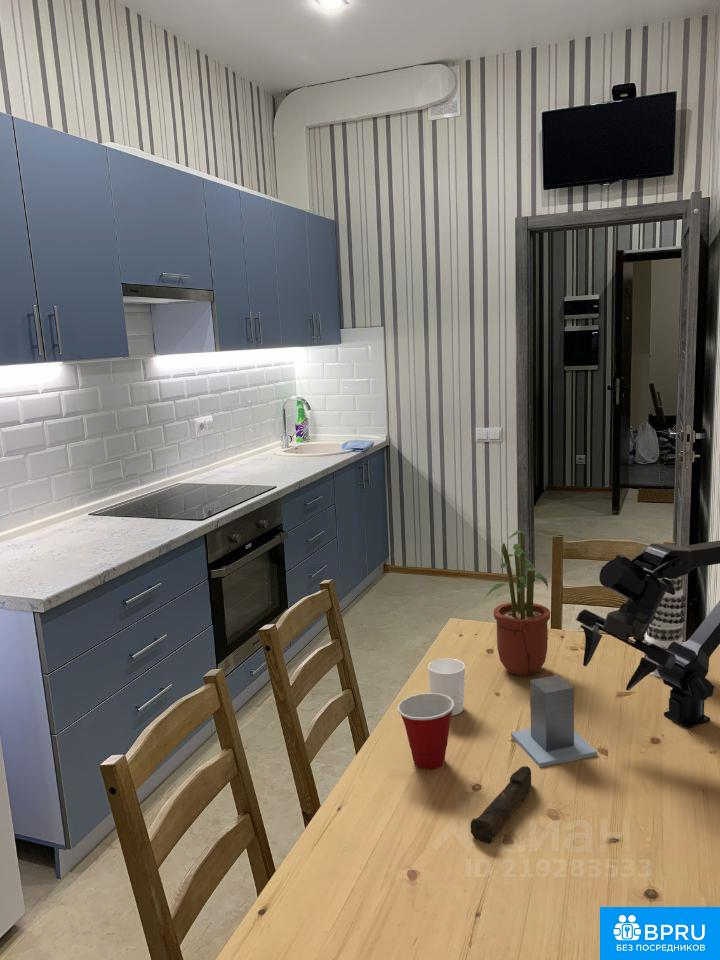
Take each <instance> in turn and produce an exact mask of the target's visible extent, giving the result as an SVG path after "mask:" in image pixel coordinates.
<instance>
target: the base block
mask: <svg viewBox="0 0 720 960" xmlns="http://www.w3.org/2000/svg"><path fill="white" fill-rule="evenodd" d="M510 737H511V738H512V739H513V740H514V741H515V743H517V744H518V745H519V747H521V749H522V750H523V751H524V752H525V753H526V754H527V755H528V756H529V758H530V759H532V761H533V762H534V763H535V764H536V765H537V767H539V768H543V767H549V766H553V765H557V764H563V763H567V762H572V761H578V760H581V759H586V758H591V757H596V756H598V750H596V749H595V748H594V747H593V746H592V745H591V744H590V743H588V742H587V741H586V740H585V738H583V737H582V736H581V735H579V734H578V732H576V731H575V730H574V746H571V747H567V748H562V749H557V750H553V751H548V752H546V751H545V750H544V749H543V748H542V747H541V746H540V745H539V744H538V743H537V742H536V741H535V740H534V739H533V738H532V737H531V728H527V729H520V730H516V731H511V732H510Z"/></svg>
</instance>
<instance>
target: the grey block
mask: <svg viewBox="0 0 720 960" xmlns="http://www.w3.org/2000/svg"><path fill="white" fill-rule="evenodd" d="M529 692H530V693H529V697H530V698H529V701H530V707H529V708H530V729H531V737H532V738H533V739H534V740H535V741H536V742H537V743H538V744H539V745H540V746H541V747H542V748H543V749H544V750H545V751H546V752H548V751H553V750H557V749H562V748H567V747H571V746H574V731H575V687H574V686H572V685H571V684H570V683H568V682H567V681H566V680H565V679H563V678H562V677H560V676H559V675H558V674H555V675H550V676H545V677H540V678H539V677H538V678H534V679H530V680H529Z"/></svg>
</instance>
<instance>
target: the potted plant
mask: <svg viewBox="0 0 720 960" xmlns="http://www.w3.org/2000/svg"><path fill="white" fill-rule="evenodd" d="M518 534H519V535H520V537H519V542H520V543H514V544H513V545H512V549H513V551H514V553H513V554H512V553H509V551H508V548H507V546H506V543H505V542H503V543H502V545H501V553H502V556H503V559H504V562H501V563H500V564H499V565H500V569H501V570H503V569H504V568H505V569H506V572H507V581H508V583H506V582H504V581H503V582H498V583H496V584H495V585H494V586H493V587H491V588H490V590H489V591H488V593H487V595H485V597H484V599H483V601H482V602H483V603H484V602H485V600H487V598H488V597H489V595H491V594H492V593H493V592H495V591H496V590H498V589H500V588H502V587H503V586H506V585H507V584H508V585H509V586H508V587H509V593H510V594H509V595H510V602H507V603H502V604H500V605H497V606H496V607H495V608H494V609H493V617H494V619H495V621H496V645H497V646H496V647H497V652H498V653H497V654H498V656H499V661H500V663H501V664H502V665H503V667H504V669H506V670H507V671H508V672H509V673H511V674H513V675H516V676H532V675H534V674H536V673H537V672H539V671H540V670H541V669H542V667H543V666H544V664H545V662H546V659H547V653H548V633H549V631H548V628H549V627H548V621H549V620H550V618H551V611H550V609H549V608H548V607H546V606H544V605H542V604H538V603H535V602H534V592H535V591H534V589H535V588H534V587H535V585H534V584H535V578H536V579H539V580H541V581H542V582H543V583H544V585H545V586H546V587H547V588H546V590H548V589H549V585H548V578H546V577H545V576H543V575H542V574H541V573H540V572H539V573H537V572H536V573H535V570H536V567H535V566H534V563H532V562H531V561H530V560H528V559H527V558H526V557H525V556H526V554H528V555H529V554H530V550H525V549H526V547H525V545H526V542H525V541H526V540H525V539H526V535H525V534H526V533H525V531H522V530H518V531H517V530H516V531H515V532H513V533H511V535H510V536H509V537H508V538H507V540H506V542H508V541H509V540H510V539H511V538H513V537H515V536H517V535H518ZM510 557H514V566H515V582H516V584H514V579H513V572H512V567H511V561H510ZM526 569H527V571H526ZM526 572H527V573H526ZM526 575H527V576H526ZM514 585H516V591H515V586H514ZM525 588H526V589H525ZM515 592H516V594H515ZM525 593H526V594H525ZM525 597H526V598H525ZM516 600H517V601H516ZM525 600H526V601H525Z"/></svg>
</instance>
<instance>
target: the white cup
mask: <svg viewBox="0 0 720 960" xmlns="http://www.w3.org/2000/svg"><path fill="white" fill-rule="evenodd" d="M427 667H428V669H427V670H428V680H429V689H430V691H429V693H438V694H443V695H446V696H449V697H450V698H451V699H453V701H454V708H453V710H452V715H451V717H454V716H456V715H457V716H458V715H460V714H461V713H462V712H463V711H464V702H465V700H464V699H465V686H466V684H465V681H466V679H465V675H466V665H465V663H464V662H463V661H461V660H458V659H456V658H455V659H454V658H449V657H447V658H438V659H435V660H432V661H431V662H429V664H428V665H427Z"/></svg>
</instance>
